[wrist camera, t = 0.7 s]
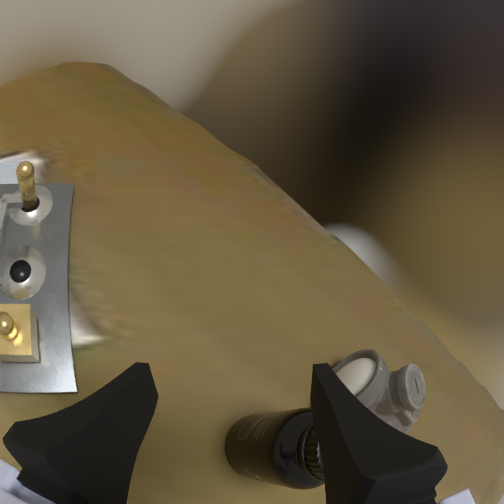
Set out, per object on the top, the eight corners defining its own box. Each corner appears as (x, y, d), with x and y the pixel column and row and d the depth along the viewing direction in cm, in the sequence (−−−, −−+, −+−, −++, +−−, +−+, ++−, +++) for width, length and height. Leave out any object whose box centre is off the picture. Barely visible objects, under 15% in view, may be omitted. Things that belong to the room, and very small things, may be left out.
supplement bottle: (233, 486, 20) (313, 512, 12) (217, 421, 24) (289, 415, 15) (294, 466, 24) (386, 468, 15) (279, 408, 27) (366, 388, 18)
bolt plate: (78, 392, 19) (67, 383, 14) (-19, 391, 14) (-54, 377, 9) (73, 190, 29) (75, 144, 24) (0, 191, 24) (-9, 145, 19)
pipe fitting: (303, 408, 28) (387, 391, 21) (330, 357, 34) (402, 330, 27) (359, 459, 28) (433, 449, 21) (377, 410, 34) (443, 393, 27)
